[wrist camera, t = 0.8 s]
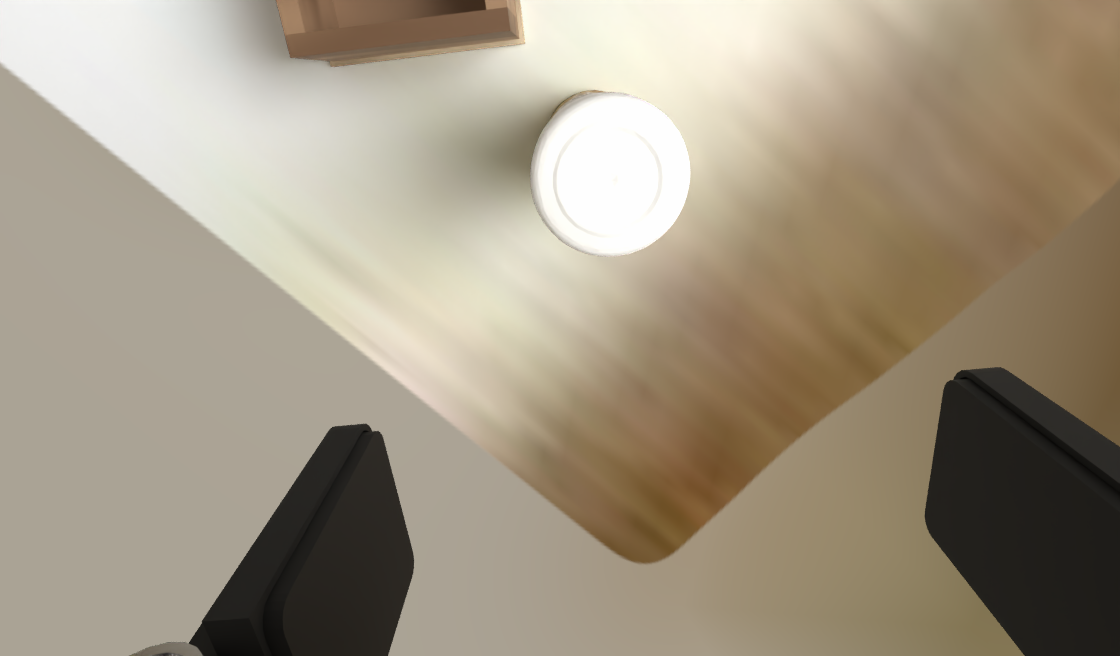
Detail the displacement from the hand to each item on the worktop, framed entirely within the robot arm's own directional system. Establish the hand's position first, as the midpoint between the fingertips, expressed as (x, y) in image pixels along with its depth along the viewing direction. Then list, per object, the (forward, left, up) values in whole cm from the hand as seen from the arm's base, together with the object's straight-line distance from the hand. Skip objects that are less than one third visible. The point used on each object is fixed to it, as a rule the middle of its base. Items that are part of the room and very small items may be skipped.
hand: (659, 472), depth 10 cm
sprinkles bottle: (-4, 0, -22) cm, 22 cm away
